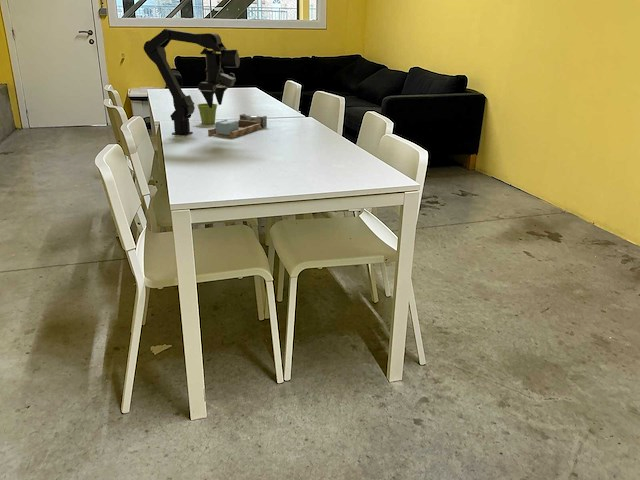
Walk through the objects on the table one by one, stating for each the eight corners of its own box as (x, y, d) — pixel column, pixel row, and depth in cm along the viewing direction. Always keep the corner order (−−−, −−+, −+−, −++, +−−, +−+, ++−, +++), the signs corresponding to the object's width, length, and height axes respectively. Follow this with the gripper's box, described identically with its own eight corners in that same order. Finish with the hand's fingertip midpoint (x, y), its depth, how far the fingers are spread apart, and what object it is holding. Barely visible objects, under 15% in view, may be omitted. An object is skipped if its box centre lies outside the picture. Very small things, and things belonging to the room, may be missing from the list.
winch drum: (262, 128, 242) (262, 117, 240) (239, 125, 246) (239, 114, 245) (267, 126, 246) (267, 116, 244) (244, 124, 250) (244, 113, 248)
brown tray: (232, 138, 220) (232, 130, 219) (208, 135, 224) (207, 127, 223) (260, 129, 241) (260, 121, 239) (237, 126, 245) (237, 119, 244)
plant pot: (214, 125, 245) (213, 106, 242) (195, 124, 247) (193, 105, 243) (221, 122, 254) (220, 103, 251) (202, 121, 255) (201, 102, 252)
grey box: (230, 135, 222) (229, 123, 221) (215, 133, 225) (215, 121, 223) (238, 132, 228) (238, 120, 227) (224, 130, 231) (224, 119, 229)
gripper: (223, 69, 203) (225, 110, 208) (240, 65, 219) (242, 104, 225) (196, 67, 205) (198, 109, 211) (215, 64, 222) (217, 102, 228)
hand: (215, 106), depth 218 cm, fingers open, 9 cm apart
